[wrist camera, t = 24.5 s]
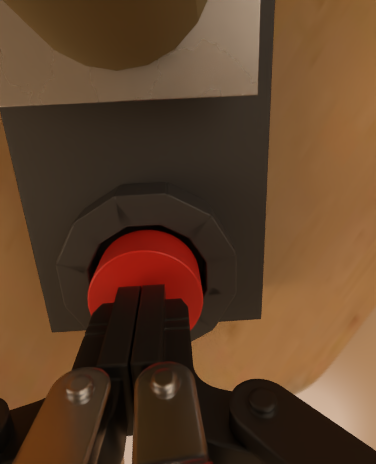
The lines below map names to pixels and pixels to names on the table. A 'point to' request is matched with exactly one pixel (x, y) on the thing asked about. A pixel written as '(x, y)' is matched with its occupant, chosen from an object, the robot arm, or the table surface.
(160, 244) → the button
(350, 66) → the table surface
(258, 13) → the plate
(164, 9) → the olive pawn piece
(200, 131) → the machine
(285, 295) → the table surface
